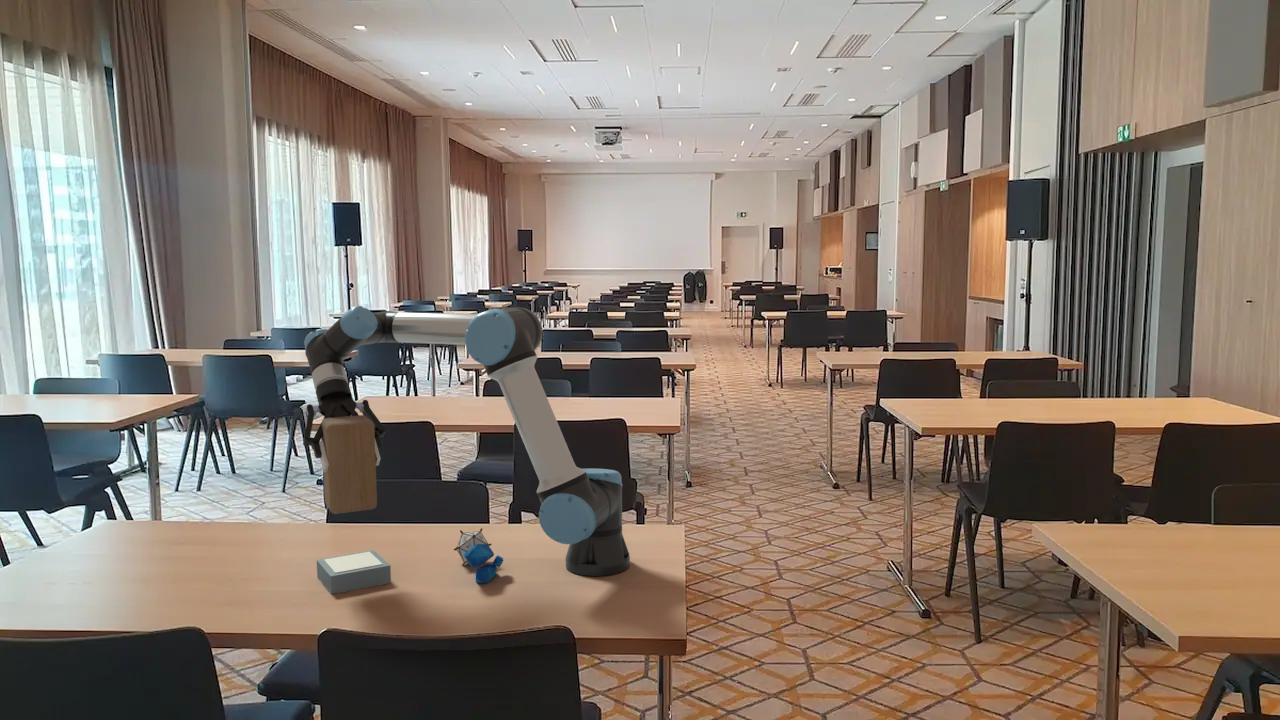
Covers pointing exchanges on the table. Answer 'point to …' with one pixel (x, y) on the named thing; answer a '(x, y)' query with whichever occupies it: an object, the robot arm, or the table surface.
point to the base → (353, 571)
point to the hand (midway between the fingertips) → (352, 465)
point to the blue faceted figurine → (480, 556)
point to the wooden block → (349, 464)
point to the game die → (469, 542)
